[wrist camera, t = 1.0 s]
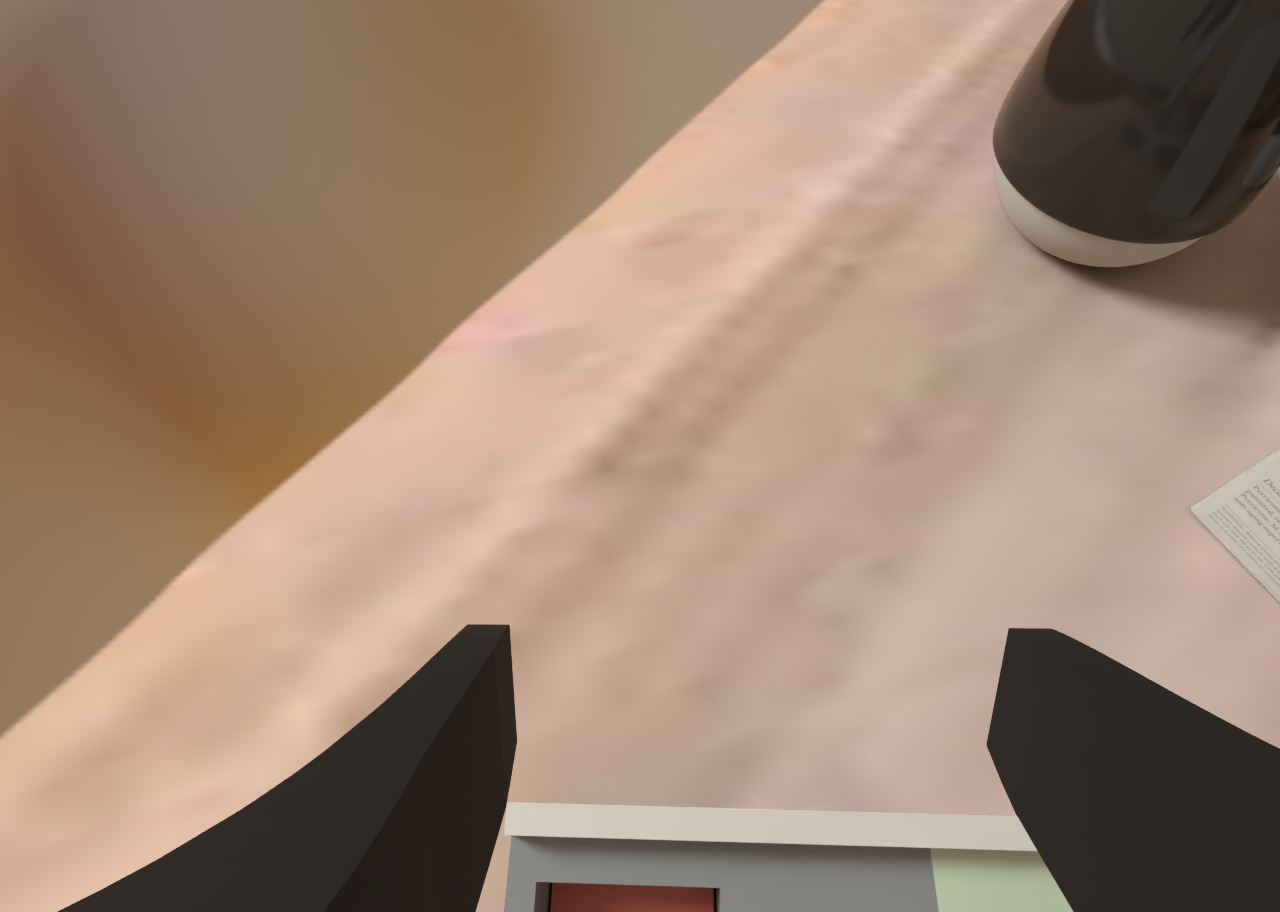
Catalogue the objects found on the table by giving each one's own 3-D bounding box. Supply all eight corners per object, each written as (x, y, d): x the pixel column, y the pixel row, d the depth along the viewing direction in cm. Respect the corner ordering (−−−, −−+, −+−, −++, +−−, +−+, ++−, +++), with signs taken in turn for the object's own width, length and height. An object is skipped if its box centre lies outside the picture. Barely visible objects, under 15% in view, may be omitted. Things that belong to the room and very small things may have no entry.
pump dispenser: (1256, 244, 32) (1662, -182, 19) (1074, 341, 30) (1383, -56, 17) (1085, 114, 37) (1316, -306, 23) (917, 191, 35) (1064, -218, 21)
